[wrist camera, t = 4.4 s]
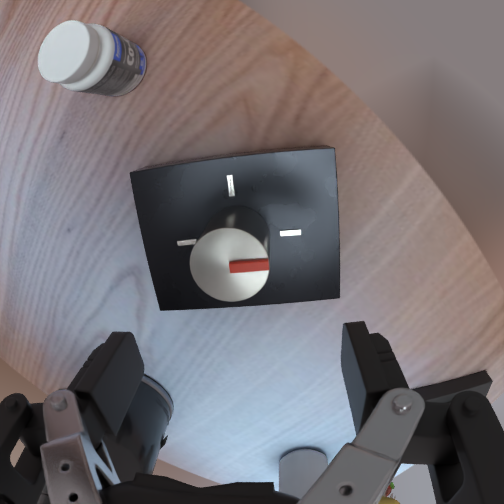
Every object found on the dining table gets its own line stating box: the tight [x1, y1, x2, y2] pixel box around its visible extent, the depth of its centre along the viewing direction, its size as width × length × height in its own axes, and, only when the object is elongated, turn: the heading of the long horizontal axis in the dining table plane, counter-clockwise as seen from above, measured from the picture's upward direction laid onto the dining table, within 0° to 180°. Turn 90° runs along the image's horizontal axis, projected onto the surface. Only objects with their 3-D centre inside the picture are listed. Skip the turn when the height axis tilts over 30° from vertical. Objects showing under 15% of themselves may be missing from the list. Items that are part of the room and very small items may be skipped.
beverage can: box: [279, 449, 328, 499], centre depth 31 cm, size 6×6×12 cm
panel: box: [130, 146, 340, 311], centre depth 24 cm, size 14×11×3 cm
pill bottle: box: [38, 20, 146, 96], centre depth 17 cm, size 5×5×8 cm
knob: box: [190, 206, 270, 302], centre depth 20 cm, size 4×4×5 cm
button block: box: [413, 371, 493, 403], centre depth 30 cm, size 11×9×4 cm
